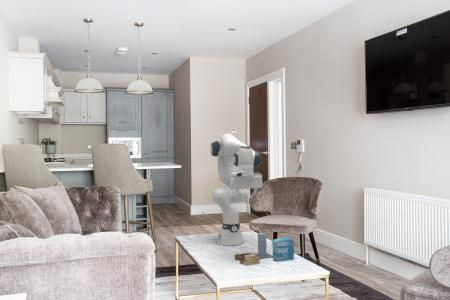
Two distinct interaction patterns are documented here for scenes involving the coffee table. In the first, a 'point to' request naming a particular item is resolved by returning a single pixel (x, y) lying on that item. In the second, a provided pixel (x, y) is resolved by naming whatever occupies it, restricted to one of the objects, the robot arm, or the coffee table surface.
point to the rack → (241, 256)
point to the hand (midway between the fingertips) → (246, 196)
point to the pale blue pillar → (262, 244)
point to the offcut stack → (250, 260)
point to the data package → (283, 249)
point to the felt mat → (263, 256)
